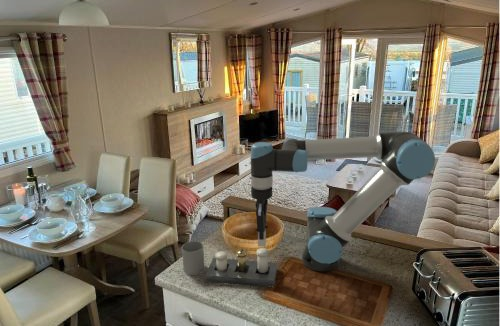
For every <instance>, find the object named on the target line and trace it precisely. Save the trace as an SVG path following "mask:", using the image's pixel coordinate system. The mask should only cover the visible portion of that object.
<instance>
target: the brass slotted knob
mask: <svg viewBox="0 0 500 326" xmlns="http://www.w3.org/2000/svg"><path fill="white" fill-rule="evenodd" d="M235 252H236V254H235V255H236V257H237V260H238V270H241V271H243V270H246V260H247V255H248V250H247V249H245V248H239V249H237V250H236V251H235Z"/></svg>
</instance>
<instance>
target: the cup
mask: <svg viewBox="0 0 500 326" xmlns="http://www.w3.org/2000/svg"><path fill="white" fill-rule="evenodd" d="M204 252H205V251H204V244H203V243H202V242H201V241H197V240H196V241H195V240H194V241H193V240H192V241H187V242H185V243H183V245H182V246H181V254H182V255H181V257H182V267H183V273H185V275H190V276H191V275H192V276H194V275H199V274H201V273H203V272H204V270H205V268H206V267H205V256H204V255H205V253H204Z"/></svg>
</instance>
